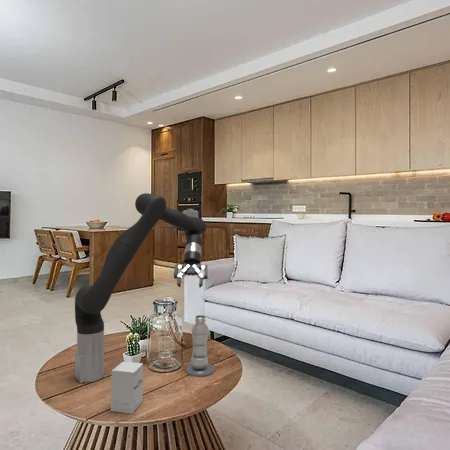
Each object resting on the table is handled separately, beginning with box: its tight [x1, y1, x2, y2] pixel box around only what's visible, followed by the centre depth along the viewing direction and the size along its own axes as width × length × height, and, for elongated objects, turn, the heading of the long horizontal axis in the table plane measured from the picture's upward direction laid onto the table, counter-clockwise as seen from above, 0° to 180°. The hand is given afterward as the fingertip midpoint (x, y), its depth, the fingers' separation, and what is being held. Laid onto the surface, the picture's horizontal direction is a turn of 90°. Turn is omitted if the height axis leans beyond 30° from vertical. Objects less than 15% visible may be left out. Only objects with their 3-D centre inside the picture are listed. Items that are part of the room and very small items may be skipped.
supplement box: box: [110, 361, 144, 415], centre depth 111 cm, size 7×7×13 cm
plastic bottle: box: [190, 314, 210, 369], centre depth 137 cm, size 6×7×20 cm
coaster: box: [185, 362, 215, 378], centre depth 137 cm, size 11×11×1 cm
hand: (189, 286), depth 146 cm, fingers open, 8 cm apart
